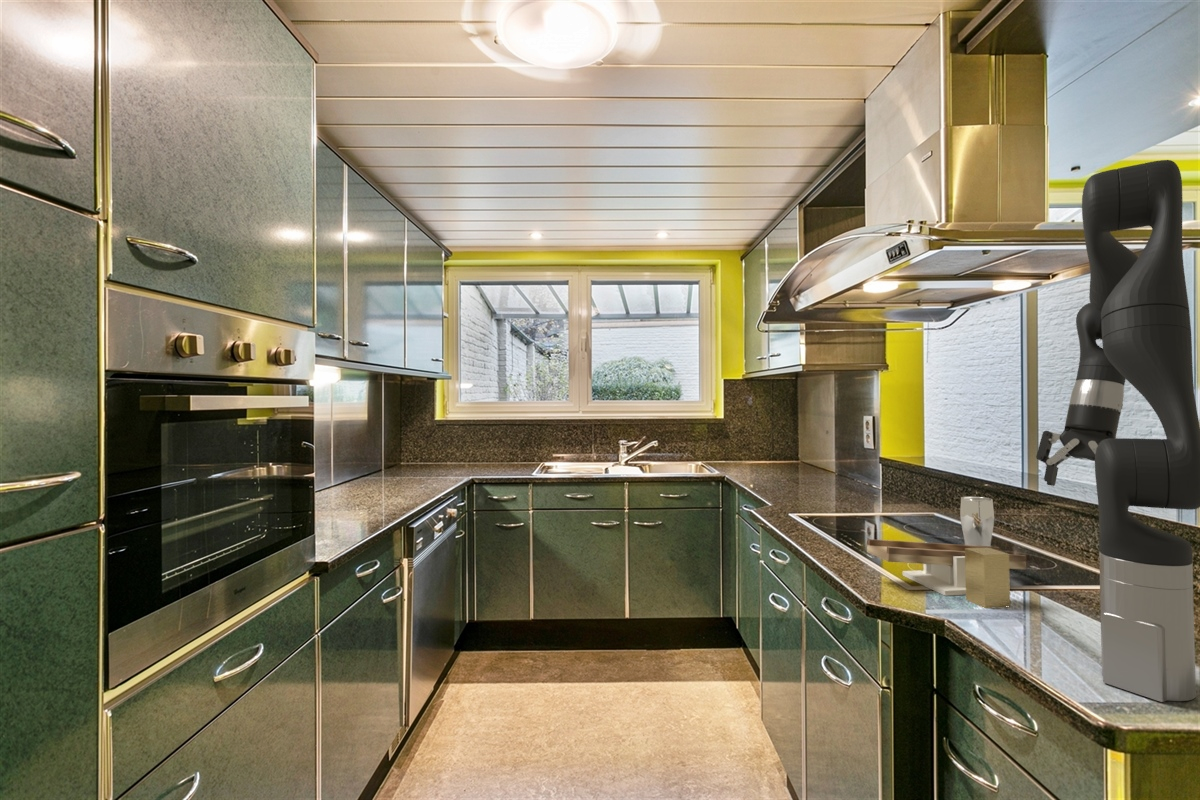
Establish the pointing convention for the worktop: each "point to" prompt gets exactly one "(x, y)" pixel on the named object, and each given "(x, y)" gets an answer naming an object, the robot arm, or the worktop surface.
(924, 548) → the balance beam
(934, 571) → the beam stand
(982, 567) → the block
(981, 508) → the beer glass
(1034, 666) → the worktop surface
